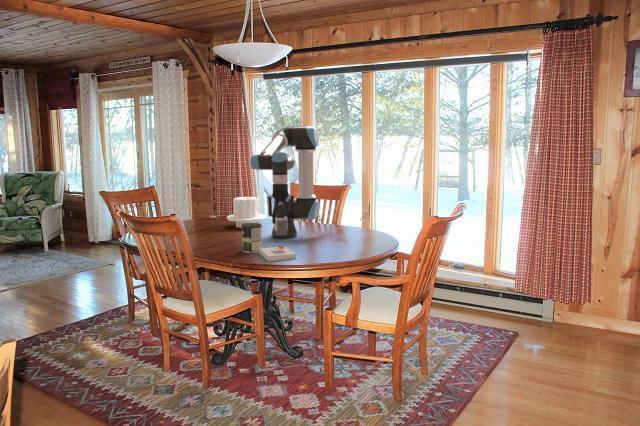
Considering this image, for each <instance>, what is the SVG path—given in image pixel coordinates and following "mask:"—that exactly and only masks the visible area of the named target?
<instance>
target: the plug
mask: <svg viewBox="0 0 640 426" xmlns="http://www.w3.org/2000/svg"><path fill="white" fill-rule="evenodd" d="M276 235H278V236H281V235H287V221H286V220H285V219H284V218H278V219H277V231H276Z"/></svg>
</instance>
